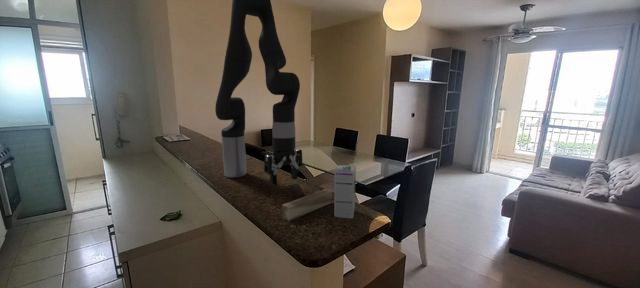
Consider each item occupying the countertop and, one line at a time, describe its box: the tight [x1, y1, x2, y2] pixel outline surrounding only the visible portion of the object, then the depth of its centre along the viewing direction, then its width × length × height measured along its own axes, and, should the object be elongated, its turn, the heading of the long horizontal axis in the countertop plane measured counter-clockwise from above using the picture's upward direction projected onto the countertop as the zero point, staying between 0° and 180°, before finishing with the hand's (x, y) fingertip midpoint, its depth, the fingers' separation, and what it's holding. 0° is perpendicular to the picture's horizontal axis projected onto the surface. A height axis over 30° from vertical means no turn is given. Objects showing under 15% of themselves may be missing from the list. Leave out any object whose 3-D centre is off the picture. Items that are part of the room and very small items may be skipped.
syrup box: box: [333, 164, 356, 220], centre depth 79 cm, size 6×6×14 cm
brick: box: [287, 183, 306, 202], centre depth 88 cm, size 11×4×5 cm, turn 17°
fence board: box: [281, 188, 333, 222], centre depth 82 cm, size 3×18×4 cm, turn 135°
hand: (284, 181), depth 90 cm, fingers open, 8 cm apart
